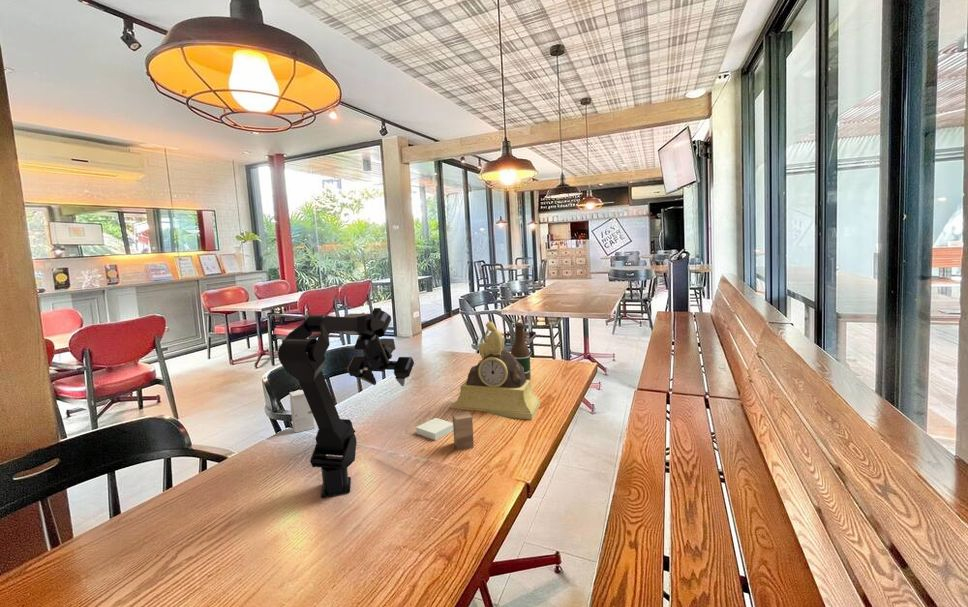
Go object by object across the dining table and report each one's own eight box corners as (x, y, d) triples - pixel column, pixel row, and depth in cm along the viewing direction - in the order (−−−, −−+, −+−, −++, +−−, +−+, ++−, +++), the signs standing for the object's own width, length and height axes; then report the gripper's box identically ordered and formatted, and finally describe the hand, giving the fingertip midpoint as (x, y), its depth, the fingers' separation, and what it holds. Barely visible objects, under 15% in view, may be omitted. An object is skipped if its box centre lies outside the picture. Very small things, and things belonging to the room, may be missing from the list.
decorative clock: (450, 412, 144) (445, 325, 140) (464, 398, 157) (460, 318, 152) (532, 420, 135) (529, 327, 131) (540, 405, 147) (538, 319, 143)
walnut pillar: (473, 452, 116) (472, 417, 115) (457, 454, 115) (455, 419, 113) (469, 444, 120) (468, 411, 119) (454, 447, 119) (452, 413, 118)
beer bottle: (509, 384, 170) (507, 325, 167) (513, 378, 177) (512, 321, 174) (528, 385, 168) (527, 325, 164) (532, 379, 175) (530, 321, 172)
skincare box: (295, 433, 133) (290, 396, 131) (292, 428, 136) (288, 392, 135) (315, 428, 136) (311, 391, 134) (312, 423, 140) (308, 387, 138)
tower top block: (454, 429, 127) (454, 423, 126) (435, 440, 121) (434, 433, 120) (436, 423, 132) (435, 417, 132) (416, 433, 126) (416, 427, 125)
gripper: (412, 329, 123) (425, 364, 133) (353, 328, 127) (370, 363, 137) (400, 358, 115) (415, 394, 125) (338, 356, 119) (357, 391, 129)
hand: (389, 384), depth 129 cm, fingers open, 9 cm apart
